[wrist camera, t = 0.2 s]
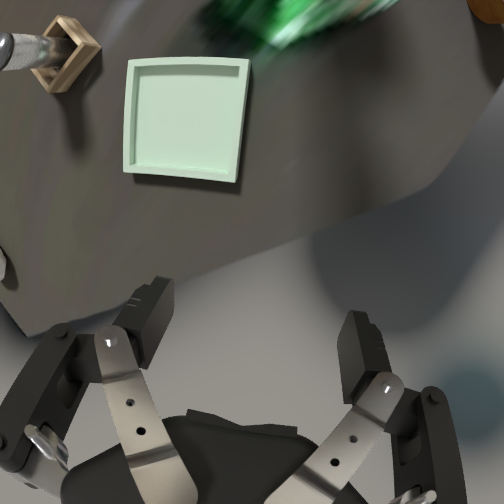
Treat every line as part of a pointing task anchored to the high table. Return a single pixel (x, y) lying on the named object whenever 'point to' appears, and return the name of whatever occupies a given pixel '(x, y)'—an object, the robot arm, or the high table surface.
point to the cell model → (2, 265)
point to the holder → (75, 62)
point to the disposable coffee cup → (488, 10)
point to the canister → (34, 51)
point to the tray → (185, 116)
